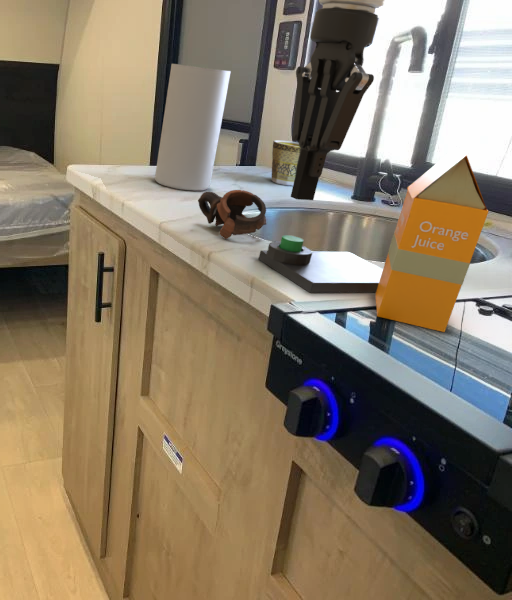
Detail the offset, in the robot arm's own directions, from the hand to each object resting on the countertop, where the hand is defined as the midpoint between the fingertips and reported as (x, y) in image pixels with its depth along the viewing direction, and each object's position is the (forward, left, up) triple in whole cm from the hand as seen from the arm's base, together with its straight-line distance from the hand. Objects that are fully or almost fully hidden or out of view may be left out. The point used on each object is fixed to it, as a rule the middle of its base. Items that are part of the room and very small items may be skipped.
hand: (301, 198), depth 82 cm
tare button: (0, 0, -8) cm, 8 cm away
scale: (-6, +3, -10) cm, 12 cm away
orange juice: (-8, +16, -10) cm, 20 cm away
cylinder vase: (-8, -54, -10) cm, 55 cm away
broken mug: (0, -17, -10) cm, 20 cm away
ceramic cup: (-43, -65, -10) cm, 78 cm away
